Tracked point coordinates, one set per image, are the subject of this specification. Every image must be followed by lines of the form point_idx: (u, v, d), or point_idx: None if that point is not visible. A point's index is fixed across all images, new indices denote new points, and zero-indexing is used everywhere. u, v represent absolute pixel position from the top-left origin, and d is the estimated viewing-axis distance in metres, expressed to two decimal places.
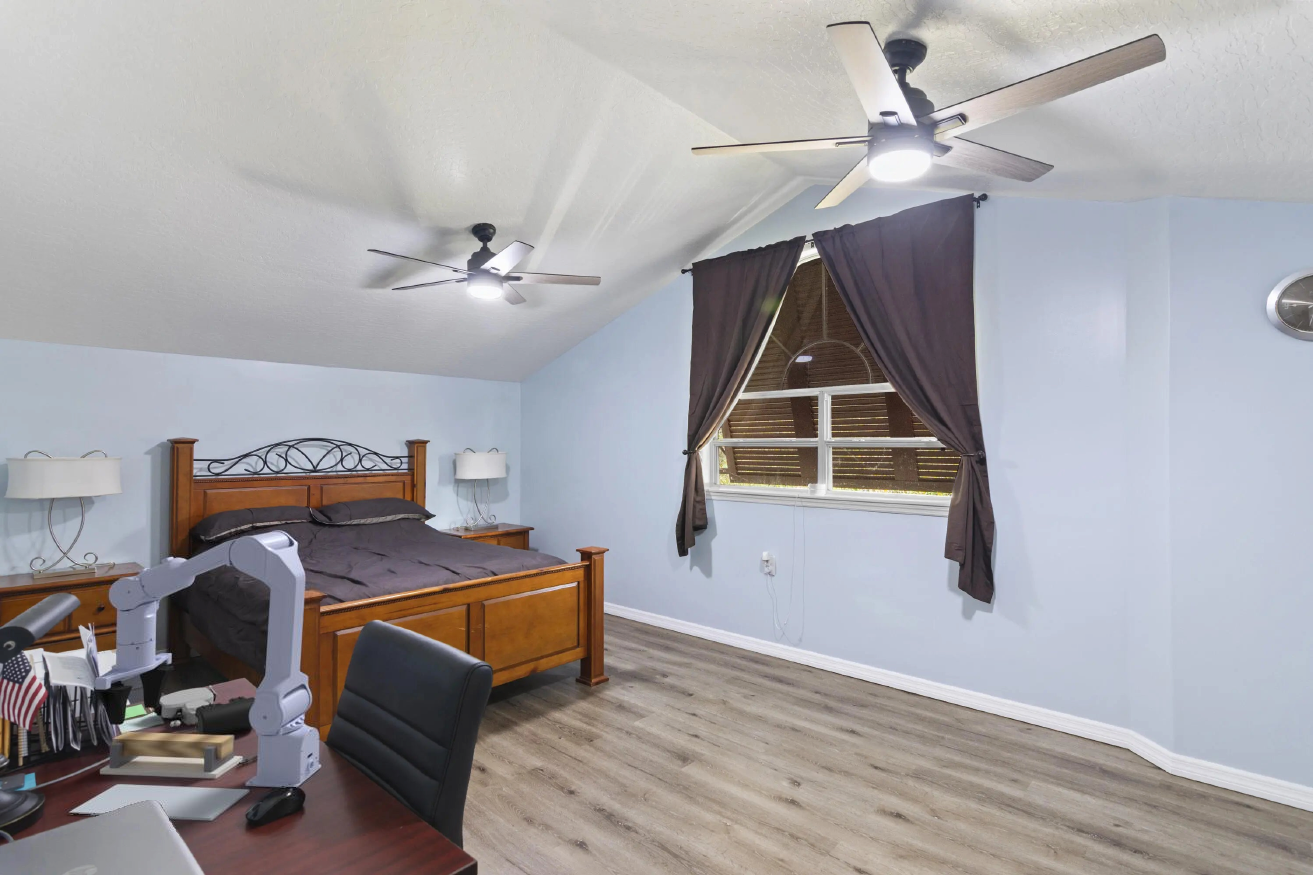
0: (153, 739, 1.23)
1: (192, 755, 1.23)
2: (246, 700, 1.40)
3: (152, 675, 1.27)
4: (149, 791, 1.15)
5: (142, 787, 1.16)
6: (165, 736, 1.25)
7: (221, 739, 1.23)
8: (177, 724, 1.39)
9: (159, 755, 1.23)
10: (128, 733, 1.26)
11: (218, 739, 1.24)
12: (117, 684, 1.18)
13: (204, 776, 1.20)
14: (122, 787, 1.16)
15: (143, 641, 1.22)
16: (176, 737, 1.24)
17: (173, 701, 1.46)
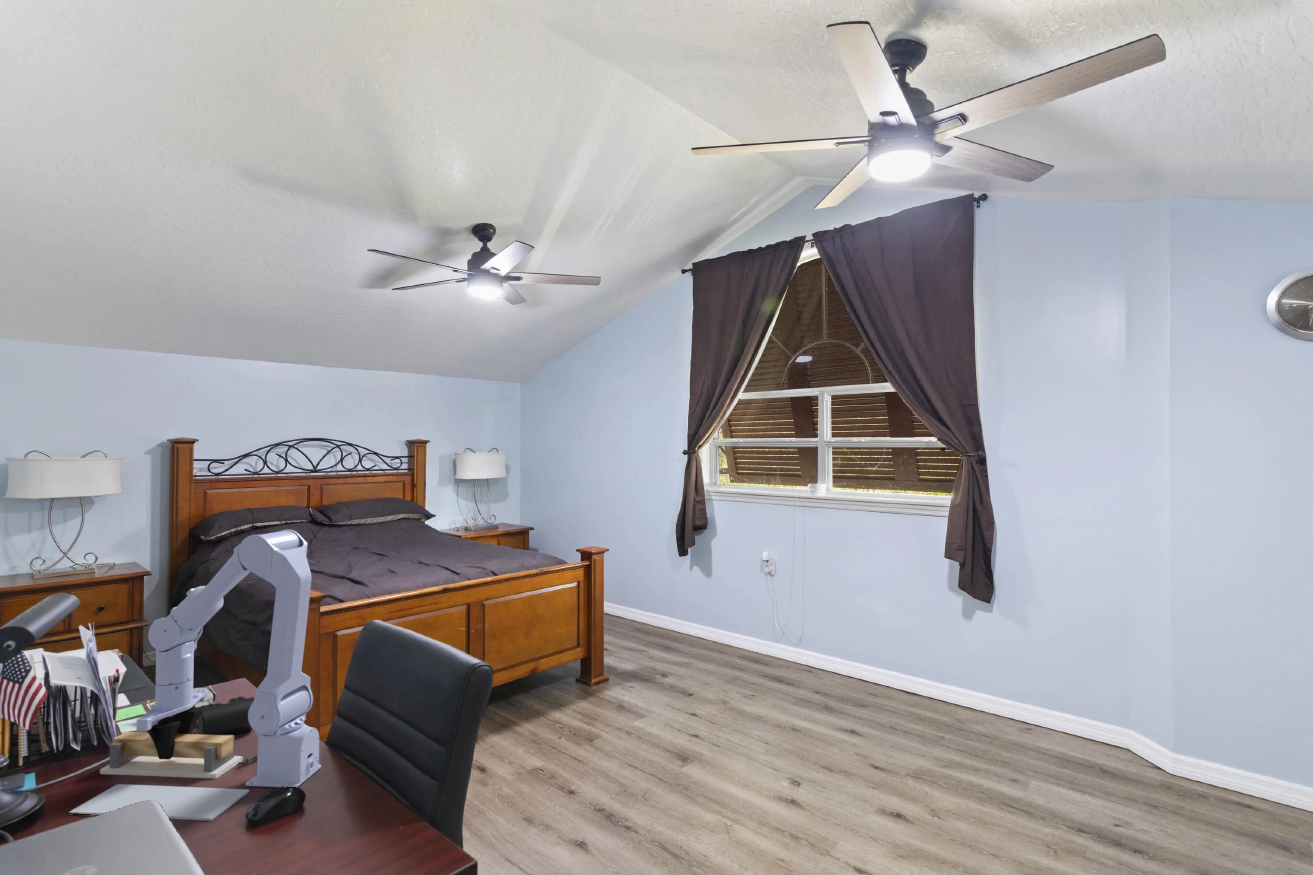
0: None
1: (192, 755, 1.23)
2: (246, 700, 1.40)
3: (181, 717, 1.26)
4: (149, 791, 1.15)
5: (142, 787, 1.16)
6: None
7: (221, 739, 1.23)
8: None
9: None
10: (128, 733, 1.26)
11: (218, 739, 1.24)
12: (166, 720, 1.22)
13: (204, 776, 1.20)
14: (122, 787, 1.16)
15: (180, 681, 1.23)
16: (176, 737, 1.24)
17: None
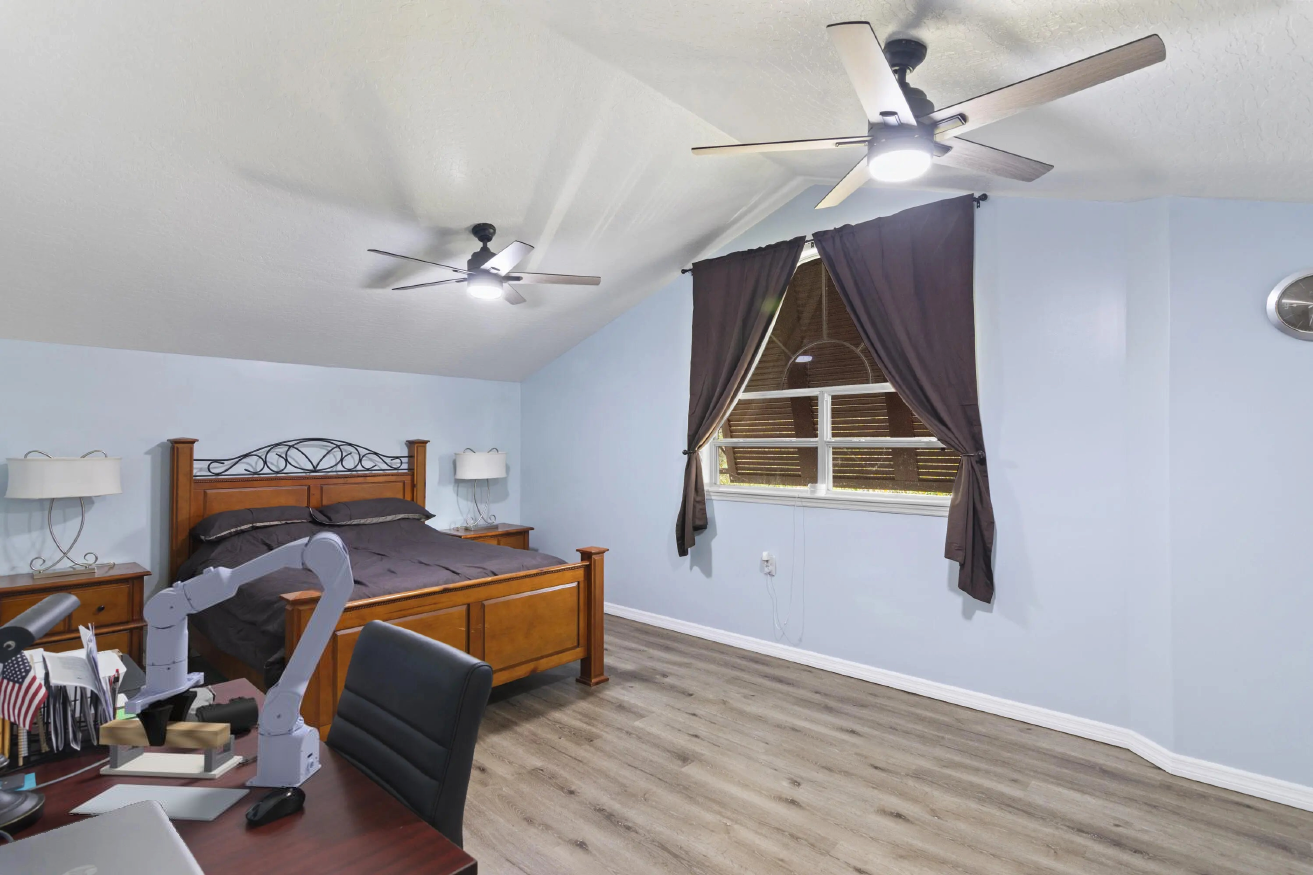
0: (143, 727, 1.13)
1: (185, 744, 1.12)
2: (246, 700, 1.40)
3: (174, 701, 1.16)
4: (149, 791, 1.15)
5: (142, 787, 1.16)
6: None
7: (216, 728, 1.13)
8: None
9: None
10: (117, 720, 1.16)
11: (213, 727, 1.13)
12: (157, 703, 1.11)
13: (204, 776, 1.20)
14: (122, 787, 1.16)
15: (183, 659, 1.14)
16: (168, 725, 1.14)
17: None
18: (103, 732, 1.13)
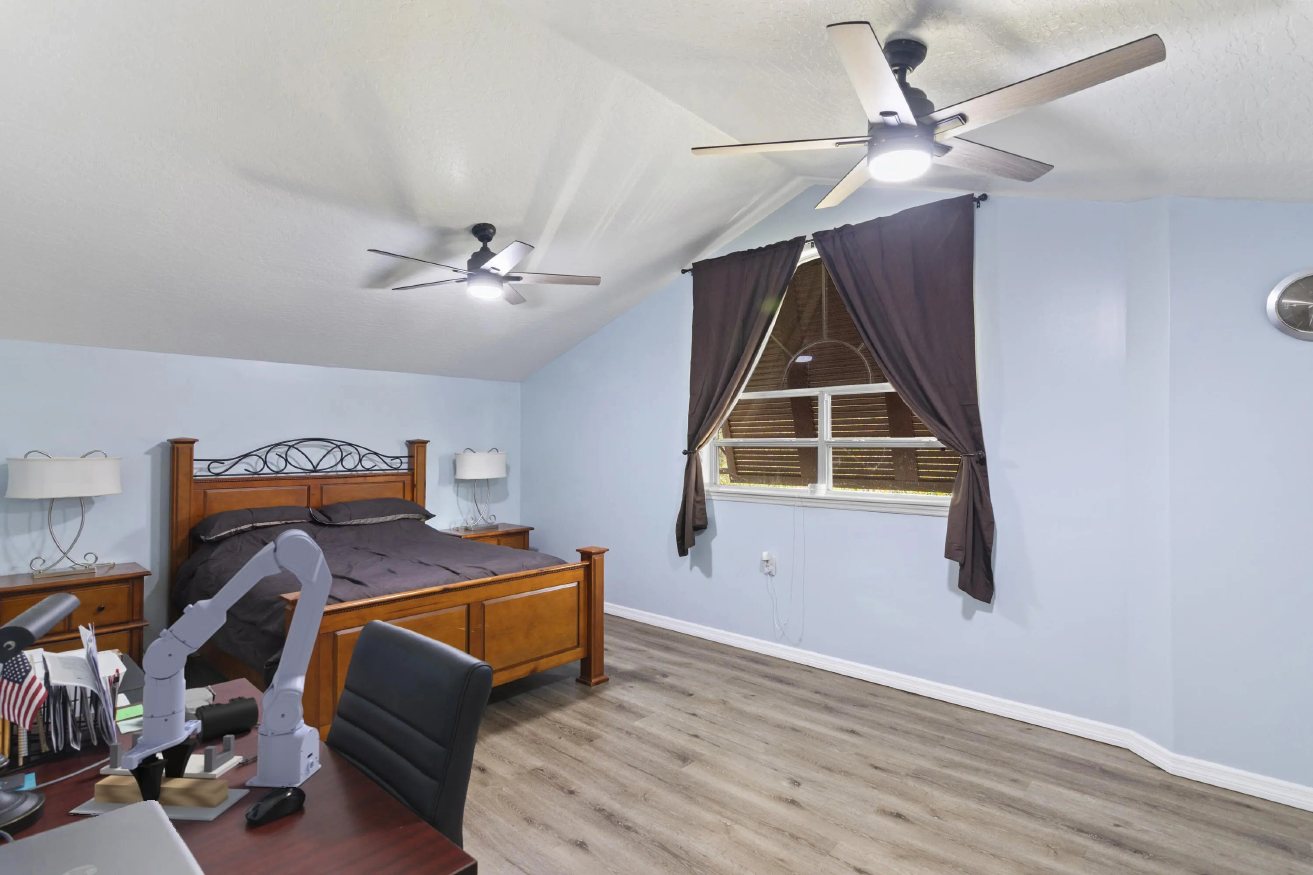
0: None
1: (182, 803, 1.10)
2: (246, 700, 1.40)
3: (174, 750, 1.14)
4: None
5: None
6: None
7: (215, 785, 1.11)
8: None
9: None
10: (112, 777, 1.13)
11: (211, 785, 1.11)
12: (151, 758, 1.09)
13: (204, 776, 1.20)
14: None
15: (182, 708, 1.12)
16: (165, 783, 1.11)
17: None
18: (98, 790, 1.11)
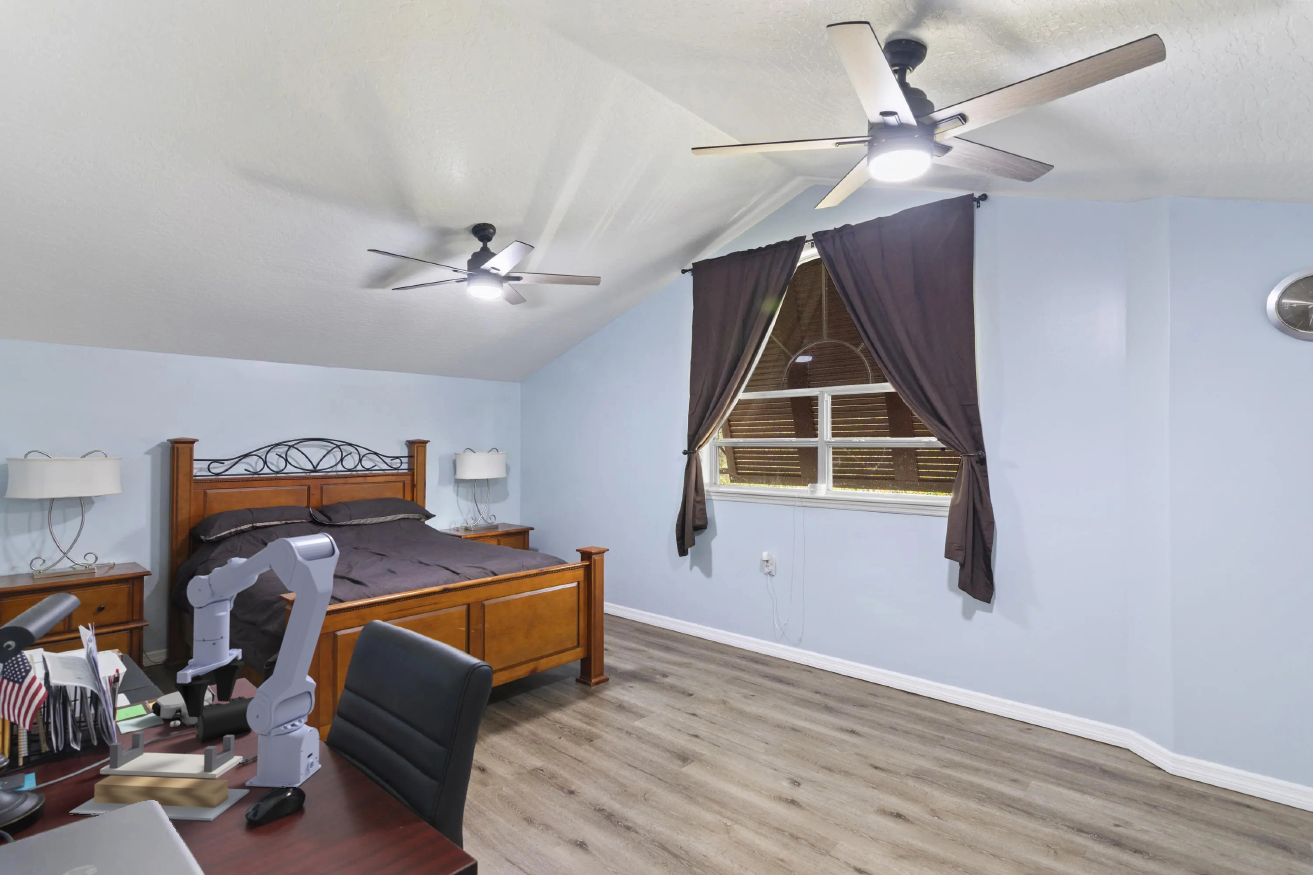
0: (139, 785, 1.11)
1: (182, 803, 1.10)
2: (246, 700, 1.40)
3: (225, 670, 1.32)
4: None
5: None
6: (152, 780, 1.12)
7: (215, 785, 1.11)
8: (177, 724, 1.39)
9: None
10: (112, 777, 1.13)
11: (211, 785, 1.11)
12: (196, 678, 1.24)
13: (204, 776, 1.20)
14: None
15: (213, 638, 1.26)
16: (165, 783, 1.11)
17: (172, 701, 1.46)
18: (98, 790, 1.11)
